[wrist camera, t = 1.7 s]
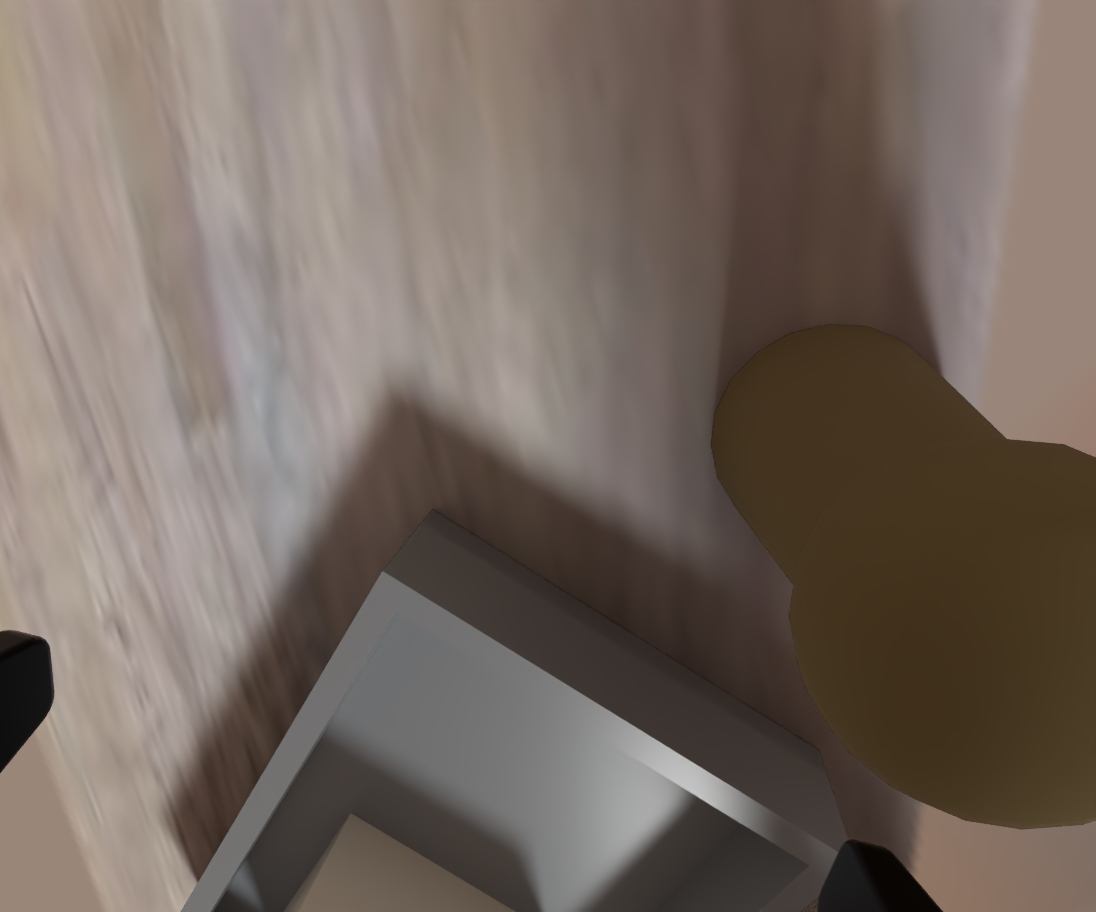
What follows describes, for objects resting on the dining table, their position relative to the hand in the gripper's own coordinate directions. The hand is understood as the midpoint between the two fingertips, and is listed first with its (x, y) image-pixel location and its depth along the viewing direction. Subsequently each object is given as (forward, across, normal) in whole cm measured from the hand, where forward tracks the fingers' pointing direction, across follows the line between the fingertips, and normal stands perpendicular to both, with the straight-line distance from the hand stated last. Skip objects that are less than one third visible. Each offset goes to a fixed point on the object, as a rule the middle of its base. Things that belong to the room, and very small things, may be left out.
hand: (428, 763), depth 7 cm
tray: (+12, 0, +15) cm, 19 cm away
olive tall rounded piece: (+12, -7, -1) cm, 14 cm away
